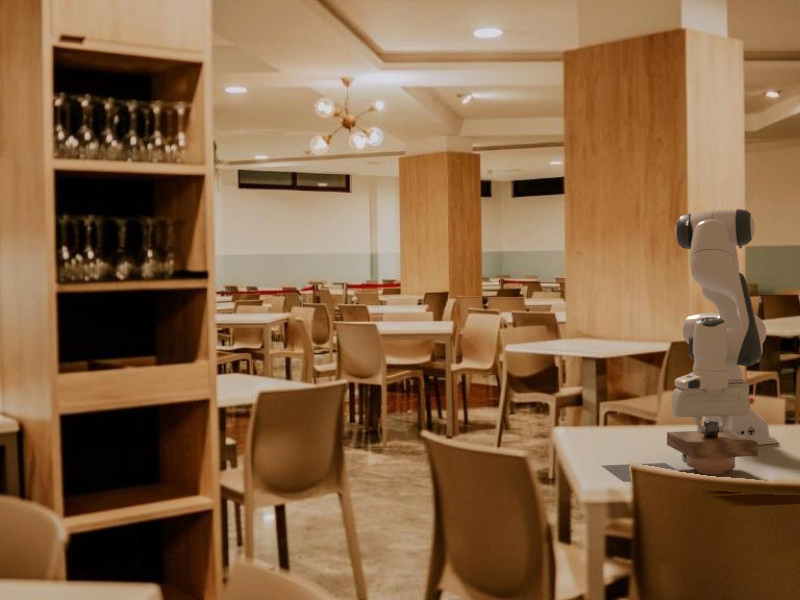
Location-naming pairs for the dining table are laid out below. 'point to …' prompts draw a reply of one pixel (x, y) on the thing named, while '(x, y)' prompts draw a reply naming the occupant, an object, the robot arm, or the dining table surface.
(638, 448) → the dining table surface
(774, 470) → the dining table surface
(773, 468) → the dining table surface
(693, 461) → the bowl
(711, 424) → the lid
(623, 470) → the mat
